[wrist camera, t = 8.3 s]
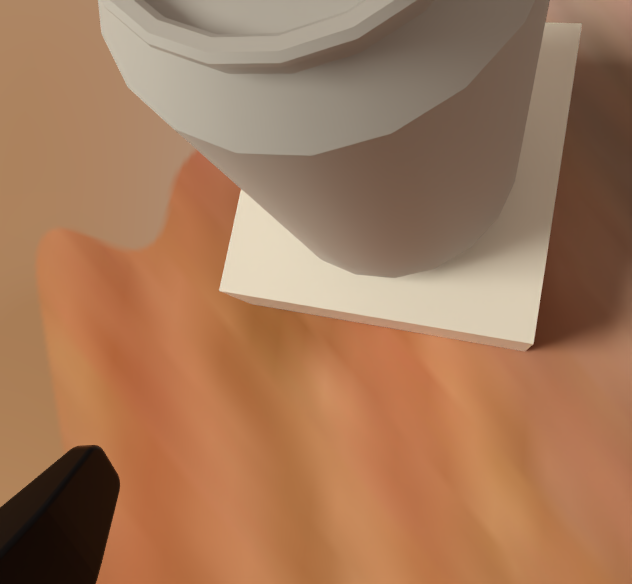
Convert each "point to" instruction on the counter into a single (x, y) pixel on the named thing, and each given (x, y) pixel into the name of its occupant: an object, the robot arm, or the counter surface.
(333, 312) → the socket block
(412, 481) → the counter surface
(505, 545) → the counter surface
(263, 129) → the can
